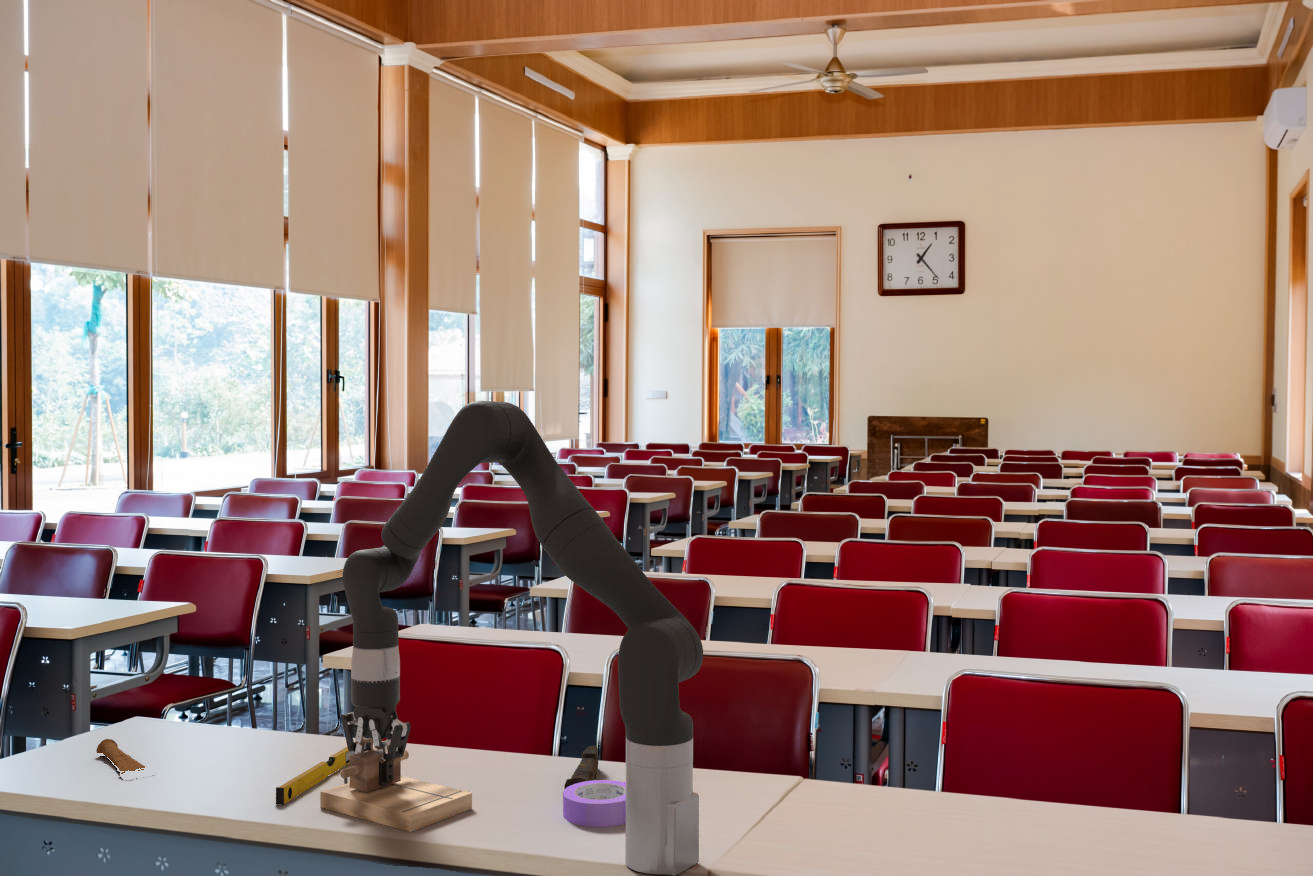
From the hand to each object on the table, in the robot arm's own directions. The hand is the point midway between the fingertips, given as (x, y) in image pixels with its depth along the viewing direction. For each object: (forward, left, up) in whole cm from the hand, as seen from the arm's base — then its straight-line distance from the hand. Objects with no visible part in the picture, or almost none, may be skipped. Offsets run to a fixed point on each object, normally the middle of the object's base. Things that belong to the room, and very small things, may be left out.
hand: (375, 781), depth 187 cm
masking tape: (-33, -16, -4) cm, 37 cm away
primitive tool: (+51, +11, -4) cm, 53 cm away
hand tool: (-21, -27, -4) cm, 34 cm away
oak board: (-5, 0, -3) cm, 6 cm away
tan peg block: (0, 0, 0) cm, 0 cm away
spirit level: (+18, -6, -4) cm, 20 cm away
